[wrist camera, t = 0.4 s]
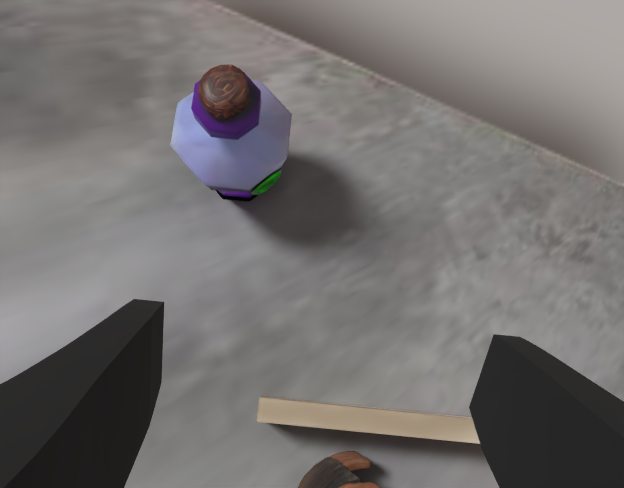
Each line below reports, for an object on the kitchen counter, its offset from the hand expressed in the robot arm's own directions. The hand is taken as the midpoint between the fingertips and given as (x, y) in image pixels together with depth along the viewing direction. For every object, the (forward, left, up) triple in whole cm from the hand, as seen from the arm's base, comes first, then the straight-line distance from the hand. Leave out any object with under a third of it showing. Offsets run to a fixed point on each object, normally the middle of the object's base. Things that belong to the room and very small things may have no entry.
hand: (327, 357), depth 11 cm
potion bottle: (+16, +6, -27) cm, 32 cm away
